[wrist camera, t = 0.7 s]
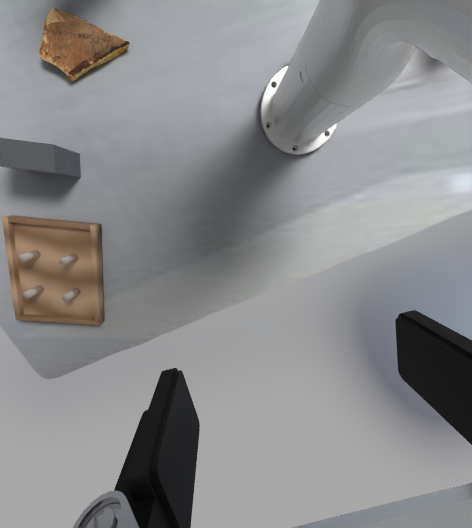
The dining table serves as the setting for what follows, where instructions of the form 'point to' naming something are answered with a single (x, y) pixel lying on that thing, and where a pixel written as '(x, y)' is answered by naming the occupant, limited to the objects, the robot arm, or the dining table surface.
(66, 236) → the pin tray
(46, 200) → the dining table surface
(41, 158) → the block
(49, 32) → the shard
